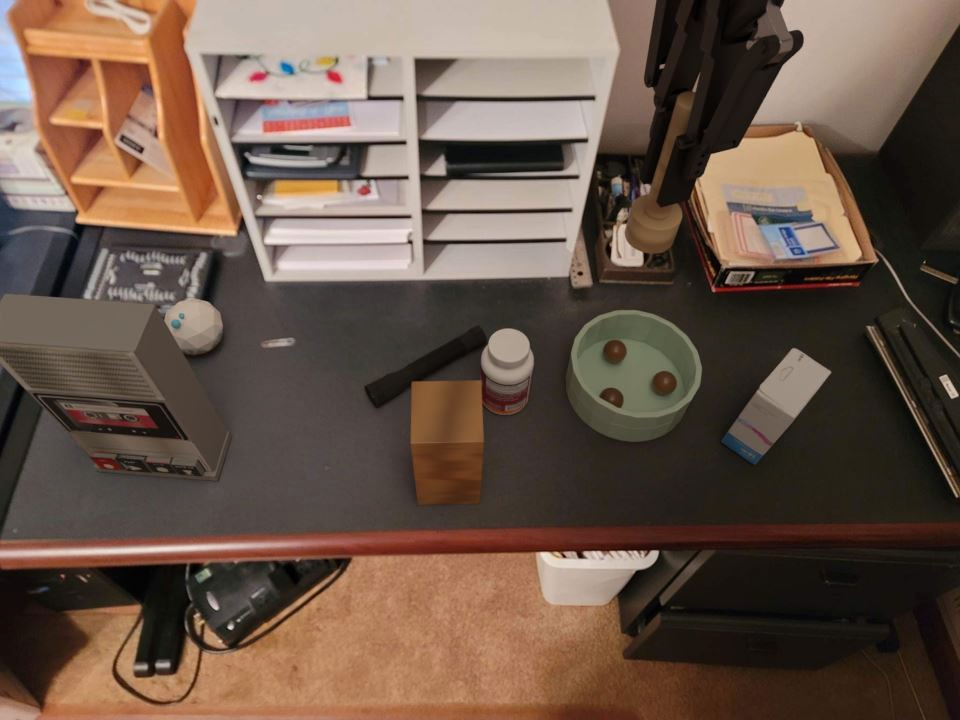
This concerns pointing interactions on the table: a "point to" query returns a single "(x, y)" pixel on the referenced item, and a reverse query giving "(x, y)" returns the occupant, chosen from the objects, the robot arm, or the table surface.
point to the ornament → (194, 326)
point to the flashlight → (423, 366)
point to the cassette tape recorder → (114, 384)
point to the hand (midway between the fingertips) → (664, 189)
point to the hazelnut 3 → (664, 383)
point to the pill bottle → (506, 372)
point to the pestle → (647, 220)
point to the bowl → (632, 375)
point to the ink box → (775, 405)
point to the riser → (447, 441)
